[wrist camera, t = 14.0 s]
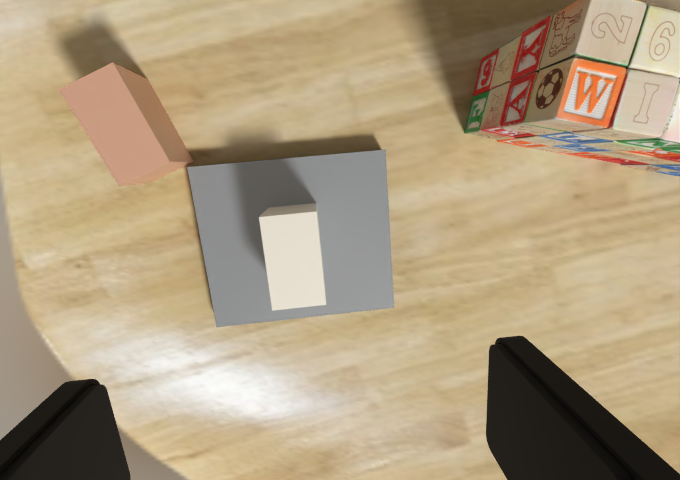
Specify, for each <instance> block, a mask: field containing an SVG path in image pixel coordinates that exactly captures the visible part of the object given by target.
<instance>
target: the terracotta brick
mask: <svg viewBox="0 0 680 480" xmlns="http://www.w3.org/2000/svg"><path fill="white" fill-rule="evenodd" d="M59 90H60V92H61V93H62V95H63V97H64V98H65V100H66V101H67V103H68V105H69V106H70V108H71V109H72V111H73V113H74V114H75V116H76V117H77V119H78V121H79V122H80V124H81V126H82V127H83V129H84V130H85V132H86V134H87V135H88V137H89V138H90V140H91V142H92V143H93V145H94V146H95V148H96V150H97V151H98V153H99V154H100V156H101V158H102V159H103V161H104V162H105V164H106V166H107V167H108V169H109V170H110V172H111V174H112V175H113V177H114V179H115V180H116V182H117V183H118V185H119V186H127V185H134V184H142V183H149V182H153V181H155V180H157V179H159V178H161V177H163V176H165V175H167V174H169V173H172V172H174V171H176V170H178V169H180V168H182V167H184V166H186V165H188V164H190V163H192V162H194V161H193V159H192V157H191V156H190V154H189V152H188V150H187V149H186V147H185V145H184V143H183V141H182V140H181V138H180V136H179V134H178V132H177V131H176V129H175V127H174V125H173V123H172V122H171V120H170V118H169V116H168V114H167V113H166V111H165V109H164V107H163V106H162V104H161V102H160V100H159V98H158V97H157V95H156V93H155V91H154V89H153V88H152V86H151V84H150V82H149V80H148V79H146V78H144V77H142V76H140V75H138V74H136V73H134V72H132V71H129V70H127V69H125V68H123V67H121V66H119V65H117V64H115V63H113V62H112V63H110V64H108V65H106V66H104V67H102V68H100V69H98V70H96V71H94V72H92V73H90V74H88V75H86V76H84V77H82V78H80V79H78V80H76V81H74V82H72V83H70V84H68V85H66V86H64V87H62V88H60V89H59Z"/></svg>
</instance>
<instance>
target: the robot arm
mask: <svg viewBox="0 0 680 480" xmlns="http://www.w3.org/2000/svg"><path fill="white" fill-rule="evenodd" d="M486 437H487V442H488V445H489V448H490V450H491V452H492V454H493V456H494V457H495V459H496V461H497V463H498V464H499V466H500V468H501V469H502V471H503V473H504V475H505V476H506V478H507V480H680V474H679V473H678V472H677V471H675V470H674V469H673V468H672V467H671V466H670V465H669V464H668V463H666V462H665V461H664V460H663V459H662V458H661V457H660V456H658V455H657V454H656V453H655V452H654V451H653V450H652V449H651V448H649V447H648V446H647V445H646V444H645V443H644V442H643V441H641V440H640V439H639V438H638V437H637V436H636V435H635V434H634V433H632V432H631V431H630V430H629V429H628V428H627V427H626V426H624V425H623V424H622V423H621V422H620V421H619V420H618V419H617V418H615V417H614V416H613V415H612V414H611V413H610V412H609V411H608V410H606V409H605V408H604V407H603V406H602V405H601V404H600V403H598V402H597V401H596V400H595V399H594V398H593V397H592V396H591V395H589V394H588V393H587V392H586V391H585V390H584V389H583V388H581V387H580V386H579V385H578V384H577V383H576V382H575V381H574V380H572V379H571V378H570V377H569V376H568V375H567V374H566V373H564V372H563V371H562V370H561V369H560V368H559V367H558V366H557V365H555V364H554V363H553V362H552V361H551V360H550V359H549V358H547V357H546V356H545V355H544V354H543V353H542V352H541V351H540V350H538V349H537V348H536V347H535V346H534V345H533V344H532V343H531V342H529V341H528V340H527V339H526V338H525V337H523V336H513V337H503V338H498V339H497V340H496V342H495V344H494V345H491V346H490V349H489V370H488V397H487V424H486ZM0 480H130V472H129V469H128V465H127V461H126V457H125V454H124V450H123V447H122V443H121V439H120V436H119V432H118V428H117V425H116V421H115V418H114V414H113V410H112V407H111V403H110V399H109V396H108V392H107V389H106V387H105V386H104V385H100V383H99V382H98V381H97V380H95V379H87V380H77V381H69V382H65V383H64V384H62V385H61V386H60V387H59V388H58V389H57V390H56V391H54V392H53V393H52V394H51V395H50V396H49V397H48V398H47V399H46V400H45V401H43V402H42V403H41V404H40V405H39V406H38V407H37V408H36V409H34V410H33V411H32V412H31V413H30V414H29V415H28V416H27V417H26V418H24V419H23V420H22V421H21V422H20V423H19V424H18V425H17V426H16V427H15V428H13V430H11V431H10V432H9V433H8V434H7V435H6V436H5V437H4V438H2V439H1V440H0Z"/></svg>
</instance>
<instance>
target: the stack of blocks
mask: <svg viewBox="0 0 680 480" xmlns="http://www.w3.org/2000/svg"><path fill="white" fill-rule="evenodd" d="M465 134H469V135H474V136H479V137H484V138H489V139H494V140H497V141H498V142H504V143H508V144H513V145H518V146H523V147H529V148H533V149H537V150H542V151H547V152H553V153H558V154H560V153H564V154H570V155H575V156H580V157H585V158H594V159H598V160H603V161H609V162H614V163H620V164H621V165H622V166H627V167H632V168H636V169H642V170H647V171H654V172H659V173H664V174H670V175H675V176H680V12H678V11H674V10H669V9H665V8H661V7H657V6H652V5H649V6H646V3H644V2H642V1H638V0H577V1H575V2H574V3H572V4H570V5H569V6H567V7H566V8H564V9H563V10H561V11H560V12H558V13H557V14H556V15H550V16H548V17H547V18H545V19H543V20H542V21H540V22H539V23H537V24H535V25H534V26H532V27H530V28H529V29H528V30H526V31H525V32H523V34H522V35H520V36H518V37H517V38H515V39H514V40H512V41H511V42H509V43H507V44H506V45H504V46H503V47H500V48H498V49H497V50H495V51H494V52H492V53H491V54H489V55H487V56H485V57H484V58H483V59H482V61H481V65H480V69H479V73H478V77H477V81H476V86H475V90H474V94H473V100H472V104H471V108H470V112H469V116H468V120H467V124H466V128H465Z"/></svg>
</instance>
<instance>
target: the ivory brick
mask: <svg viewBox="0 0 680 480" xmlns="http://www.w3.org/2000/svg"><path fill="white" fill-rule="evenodd" d="M259 221H260V228H261V235H262V242H263V250H264V257H265V264H266V271H267V278H268V285H269V292H270V299H271V306H272V311H274V310H283V309H292V308H301V307H311V306H320V305H326V294H325V281H324V271H323V262H322V252H321V242H320V233H319V223H318V213H317V203H311V204H301V205H290V206H280V207H269V208H268V209H267V210H266V211H264V212H263V213H262V214H261V215H260V216H259Z"/></svg>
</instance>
